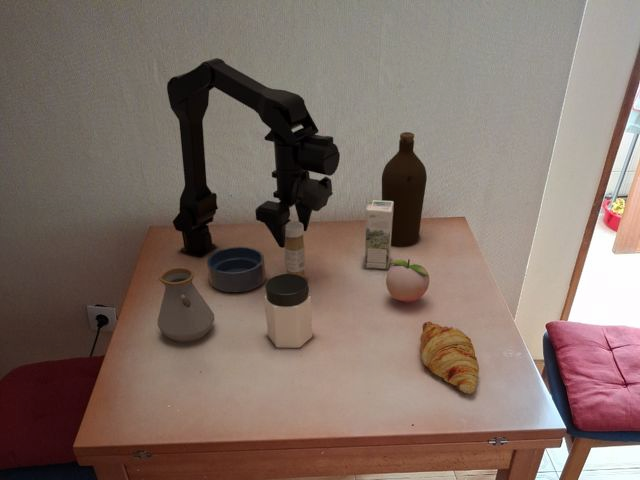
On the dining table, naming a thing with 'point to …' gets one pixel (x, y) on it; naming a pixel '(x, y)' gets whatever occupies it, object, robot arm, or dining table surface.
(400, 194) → the olive oil
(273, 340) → the jar
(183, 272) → the coffee pot
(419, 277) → the decorative fruit
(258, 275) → the bowl
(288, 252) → the sprinkles bottle
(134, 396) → the dining table surface
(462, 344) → the croissant
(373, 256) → the syrup box
